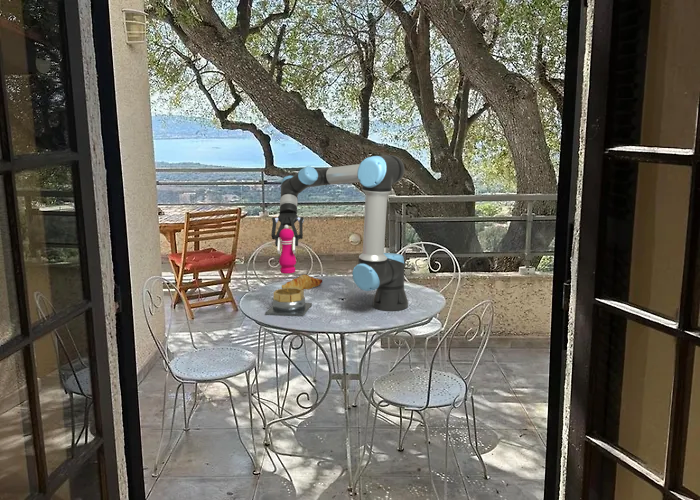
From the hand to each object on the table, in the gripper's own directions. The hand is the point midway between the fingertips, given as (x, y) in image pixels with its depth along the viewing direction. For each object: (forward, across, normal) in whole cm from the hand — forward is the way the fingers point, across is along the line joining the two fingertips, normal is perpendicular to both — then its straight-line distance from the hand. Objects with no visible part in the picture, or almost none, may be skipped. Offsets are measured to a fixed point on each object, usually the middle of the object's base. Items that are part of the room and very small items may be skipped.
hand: (286, 251), depth 254 cm
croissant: (-11, -3, -48) cm, 50 cm away
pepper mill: (+4, 0, -9) cm, 10 cm away
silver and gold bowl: (+16, 0, -21) cm, 26 cm away
